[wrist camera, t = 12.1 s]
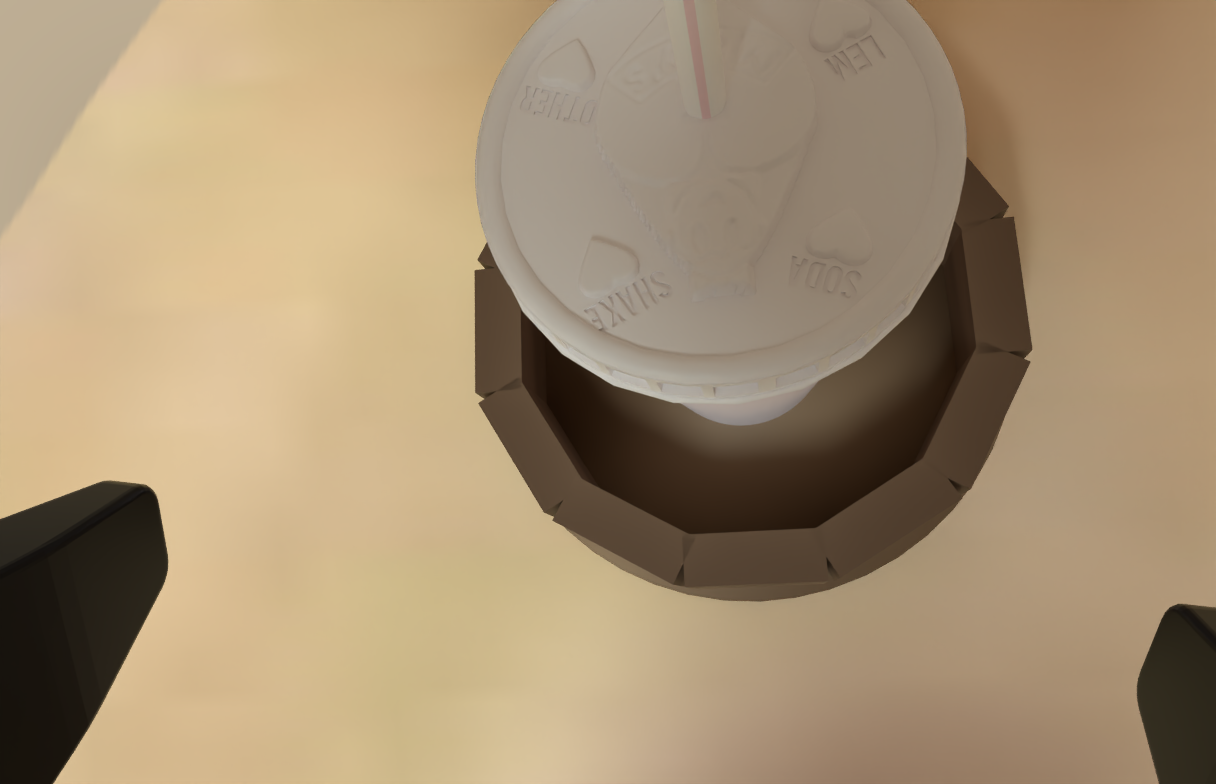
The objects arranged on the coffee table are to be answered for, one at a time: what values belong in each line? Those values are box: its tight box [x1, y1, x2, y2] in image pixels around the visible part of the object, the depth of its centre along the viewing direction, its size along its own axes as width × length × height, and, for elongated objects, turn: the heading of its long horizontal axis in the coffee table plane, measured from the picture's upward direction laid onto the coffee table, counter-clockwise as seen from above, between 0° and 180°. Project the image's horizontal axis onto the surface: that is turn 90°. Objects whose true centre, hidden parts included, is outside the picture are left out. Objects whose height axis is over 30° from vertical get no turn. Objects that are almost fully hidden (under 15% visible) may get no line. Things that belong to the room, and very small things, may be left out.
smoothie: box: [475, 0, 967, 426], centre depth 15 cm, size 6×6×14 cm
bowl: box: [475, 157, 1032, 601], centre depth 21 cm, size 12×12×3 cm
